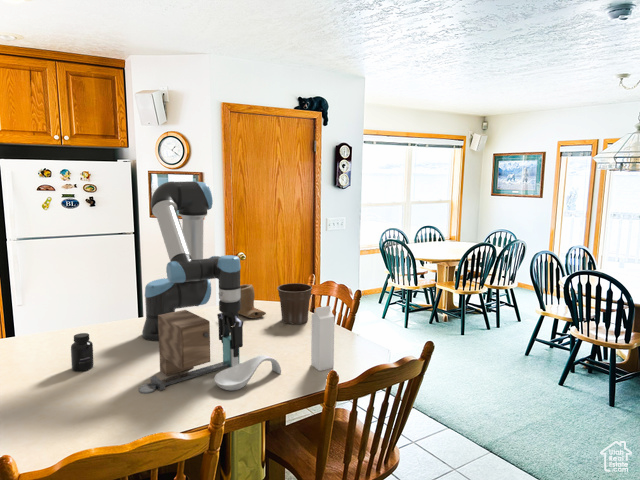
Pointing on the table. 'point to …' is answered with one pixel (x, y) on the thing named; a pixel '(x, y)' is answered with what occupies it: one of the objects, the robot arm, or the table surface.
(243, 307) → the brown boot
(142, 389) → the steel token
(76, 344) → the supplement bottle
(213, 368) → the scraper
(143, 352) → the table surface
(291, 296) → the plant pot
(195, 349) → the low cabinet
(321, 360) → the milk
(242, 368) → the spoon rest
